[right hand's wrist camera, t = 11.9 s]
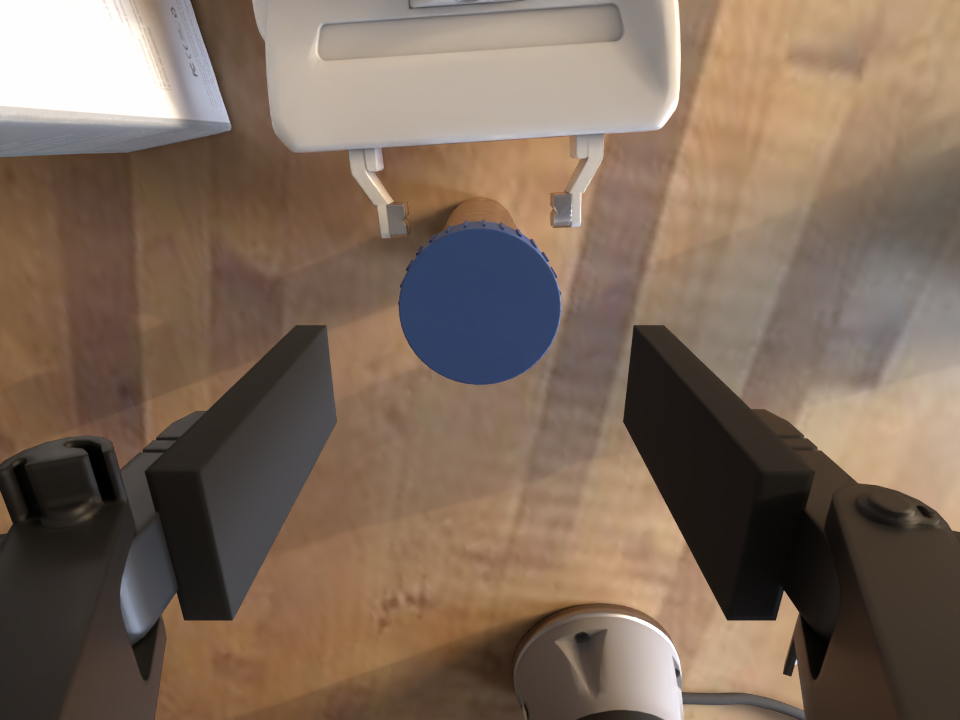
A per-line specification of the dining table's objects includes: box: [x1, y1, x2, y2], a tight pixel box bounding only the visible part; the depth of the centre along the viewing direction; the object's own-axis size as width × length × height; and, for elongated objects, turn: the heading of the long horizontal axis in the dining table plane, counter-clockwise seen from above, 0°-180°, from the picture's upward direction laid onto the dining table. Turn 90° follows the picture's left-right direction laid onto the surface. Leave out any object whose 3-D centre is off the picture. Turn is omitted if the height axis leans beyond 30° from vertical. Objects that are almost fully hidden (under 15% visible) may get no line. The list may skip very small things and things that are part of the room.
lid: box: [398, 219, 561, 385], centre depth 20 cm, size 6×6×2 cm
